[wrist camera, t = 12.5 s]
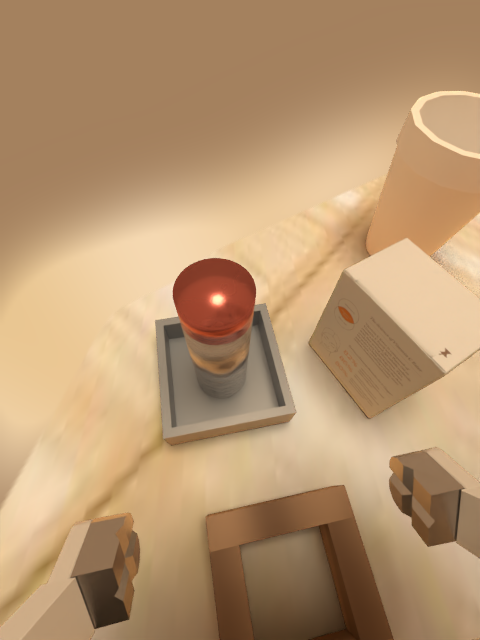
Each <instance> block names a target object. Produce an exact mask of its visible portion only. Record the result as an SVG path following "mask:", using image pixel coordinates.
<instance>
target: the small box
mask: <svg viewBox="0 0 480 640" xmlns="http://www.w3.org/2000/svg"><path fill="white" fill-rule="evenodd" d="M309 344H310V346H311V347H312V348H313V349H314V350H315V352H316V353H317V354H318V355H319V357H320V358H321V359H322V360H323V362H324V363H325V364H326V366H327V367H328V368H329V369H330V370H331V372H332V373H333V374H334V375H335V377H336V378H337V379H338V381H339V382H340V383H341V384H342V386H343V387H344V388H345V389H346V391H347V392H348V393H349V394H350V395H351V397H352V398H353V399H354V400H355V402H356V403H357V404H358V406H359V407H360V408H361V409H362V411H363V412H364V413H365V414H366V416H367V417H368V418H372V417H374V416H376V415H377V414H379V413H381V412H382V411H384V410H386V409H388V408H389V407H391V406H393V405H394V404H396V403H398V402H400V401H401V400H403V399H405V398H407V397H409V396H410V395H412V394H414V393H416V392H418V391H419V390H421V389H423V388H425V387H426V386H428V385H430V384H432V383H433V382H435V381H437V380H438V379H440V378H442V377H444V376H445V375H446V374H448V373H449V372H450V371H452V370H453V369H454V368H456V367H457V366H459V365H460V364H461V363H463V362H464V361H465V360H467V359H468V358H469V357H471V356H472V355H473V354H475V353H476V352H477V351H479V350H480V298H479V297H477V296H476V295H475V294H474V293H473V292H471V291H470V290H469V289H468V288H467V287H465V286H464V285H463V284H462V283H461V282H459V281H458V280H457V279H456V278H455V277H453V276H452V275H451V274H450V273H449V272H447V271H446V270H445V269H444V268H443V267H441V266H440V265H439V264H438V263H437V262H435V261H434V260H433V259H432V258H431V257H429V256H428V255H427V254H426V253H425V252H424V251H422V250H421V249H420V248H419V247H418V246H416V245H415V244H414V243H413V242H412V241H410V240H409V239H408V238H405V239H403V240H401V241H399V242H397V243H395V244H393V245H391V246H389V247H387V248H385V249H383V250H381V251H379V252H377V253H375V254H373V255H371V256H369V257H368V258H366V259H364V260H362V261H360V262H358V263H356V264H354V265H352V266H350V267H348V268H346V269H344V270H343V272H342V274H341V276H340V278H339V280H338V282H337V285H336V287H335V289H334V291H333V293H332V295H331V297H330V299H329V301H328V303H327V305H326V307H325V309H324V311H323V314H322V316H321V318H320V320H319V322H318V324H317V326H316V328H315V330H314V333H313V335H312V337H311V339H310V341H309Z"/></svg>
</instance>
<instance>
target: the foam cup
mask: <svg viewBox="0 0 480 640" xmlns="http://www.w3.org/2000/svg"><path fill="white" fill-rule="evenodd" d="M396 142H397V148H396V151H395V154H394V157H393V160H392V163H391V166H390V169H389V172H388V175H387V178H386V181H385V184H384V187H383V190H382V192H381V195H380V198H379V201H378V204H377V207H376V210H375V213H374V216H373V219H372V222H371V225H370V228H369V231H368V234H367V239H366V250H367V251H368V253H369V254H370V256H371V255H373V254H375V253H377V252H379V251H381V250H383V249H385V248H387V247H389V246H391V245H393V244H395V243H397V242H399V241H401V240H403V239H405V238H408V239H409V240H410V241H412V242H413V243H414V244H415V245H416V246H418V247H419V248H420V249H421V250H422V251H424V252H425V253H426V254H427V255H428V256H429V257H430V256H431V255H432V254H433V253H435V252H436V251H437V250H438V249H439V248H440V247H441V246H443V245H444V244H445V243H446V242H447V241H448V240H449V239H450V238H452V237H453V236H454V235H455V234H456V233H457V232H458V231H459V230H461V229H462V228H463V227H464V226H465V225H466V224H467V223H469V222H470V221H471V220H472V219H473V218H474V217H475V216H476V215H478V214H479V213H480V94H476V93H471V92H465V91H441V92H435V93H432V94H429V95H426V96H423V97H420V98H419V99H418V101H417V102H416V103H415V104H414V106H413V107H412V109H411V110H410V112H409V115H408V117H407V119H406V121H405V123H404V125H403V127H402V130H401V132H400V134H399V136H398V138H397V141H396Z"/></svg>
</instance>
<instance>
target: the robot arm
mask: <svg viewBox="0 0 480 640" xmlns="http://www.w3.org/2000/svg"><path fill="white" fill-rule="evenodd" d="M389 467H390V469H391V470H392V471H393V472H394V473H393V474H392V476H391V477H390V479H389V487H390V491H391V494H392V497H393V499H394V501H395V503H396V505H397V506H398V508H399V509H400V510H401V512H402V513H404V514H406V515H408V516H410V517H411V518H412V526H413V528H414V529H415V530H416V532H417V533H418V534H419V536H420V537H421V538H422V540H423V541H424V542H425V544H426V545H427V546H428V547H429V546H434V545H439V544H444V543H449V542H454V541H456V543H457V544H459V545H460V546H462V547H463V548H465V549H466V550H468V551H469V552H471V553H472V554H474V555H475V556H477V557H478V558H480V482H479V481H477V480H476V479H475V478H474V477H473V476H472V475H470V474H469V473H468V472H467V471H466V470H465V469H463V468H462V467H461V466H460V465H459V464H458V463H456V462H455V461H454V460H453V459H452V458H451V457H449V456H448V455H447V454H446V453H445V452H444V451H442V450H441V449H439V448H437V447H434V448H430V449H425V450H421V451H416V452H412V453H407V454H403V455H398V456H394V457H391V459H390V466H389ZM133 523H134V521H133V518H132V515H131V513H122V514H117V515H112V516H106V517H101V518H95V519H92V520H86V521H81V522H76V523H75V524H74V525H73V526H72V528H71V530H70V532H69V534H68V537H67V539H66V541H65V544H64V546H63V548H62V550H61V553H60V555H59V557H58V559H57V562H56V564H55V566H54V569H53V571H52V573H51V575H50V578H49V580H48V582H47V584H43V585H41V586H40V587H39V588H38V589H37V590H36V591H35V592H34V593H33V594H32V595H31V596H30V597H29V598H28V599H27V600H26V601H25V602H24V603H23V604H22V605H21V606H20V607H19V608H18V609H17V610H16V611H15V612H14V613H13V615H12V616H11V617H10V618H9V619H8V620H7V621H6V622H5V623H4V624H3V625H2V626H1V627H0V640H90V639H91V637H92V636H93V634H94V633H95V629H97V628H100V627H104V626H108V625H111V624H115V623H118V622H122V621H126V620H129V617H130V612H131V606H132V601H133V595H134V587H133V584H132V580H133V578H134V577H135V576H136V574H137V573H138V567H139V560H140V546H139V539H138V535H137V533H135V532H134V531H132V528H133ZM473 640H480V638H476V639H473Z"/></svg>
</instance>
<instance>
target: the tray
mask: <svg viewBox="0 0 480 640" xmlns="http://www.w3.org/2000/svg"><path fill="white" fill-rule="evenodd" d="M155 323H156V338H157V352H158V367H159V382H160V397H161V412H162V427H163V439H164V440H165V441H167V442H168V443H169V444H170V445H175V444H180V443H185V442H190V441H195V440H200V439H205V438H210V437H215V436H220V435H225V434H230V433H235V432H240V431H245V430H250V429H255V428H260V427H265V426H270V425H275V424H280V423H285V422H289V421H290V420H291V419H292V417H293V416H294V415H295V414H296V410H295V406H294V402H293V399H292V395H291V392H290V388H289V385H288V381H287V377H286V374H285V370H284V367H283V363H282V360H281V356H280V353H279V349H278V345H277V342H276V338H275V335H274V331H273V328H272V324H271V321H270V317H269V313H268V310H267V306H266V303H265V304H259V305H255V306H254V314H253V322H252V330H251V339H250V347H249V355H248V363H247V372H246V379H245V383H244V385H243V387H242V388H241V390H240V391H239V392H238V393H236V394H235V395H233V396H231V397H228V398H223V399H219V398H214V397H211V396H209V395H208V394H206V393H205V392H204V391H203V390H202V389H201V387H200V385H199V382H198V379H197V376H196V373H195V369H194V366H193V363H192V359H191V356H190V353H189V350H188V346H187V343H186V340H185V336H184V333H183V330H182V326H181V323H180V320H179V317H174V318H167V319H161V320H155Z"/></svg>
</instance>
